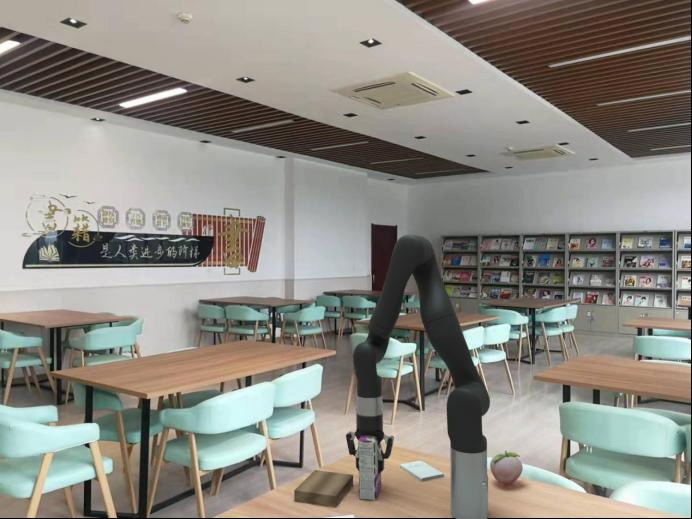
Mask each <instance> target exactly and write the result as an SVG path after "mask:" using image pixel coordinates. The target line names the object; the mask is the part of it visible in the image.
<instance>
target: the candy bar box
mask: <svg viewBox="0 0 692 519" xmlns="http://www.w3.org/2000/svg"><path fill="white" fill-rule="evenodd" d="M357 444H358V446H357V448H359V449H358V450H359V453H358V454H359V471H358V496H359V500H361V499H362V501H363V500H364V501H374V502H375V501H377V498H378V494H379V492H380V488H381V486H382V473H381V474H380V473H378V460H379V459H378V453H377V445H378V442H377V437H376V436H368V435H361V437H360V439H359V441H358V440H357ZM378 448H379V445H378Z"/></svg>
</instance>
